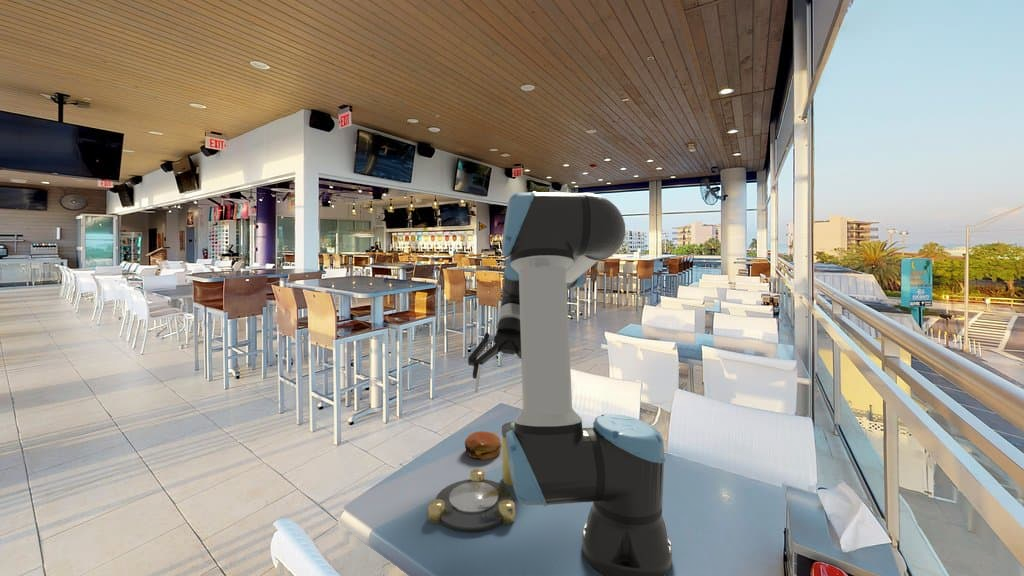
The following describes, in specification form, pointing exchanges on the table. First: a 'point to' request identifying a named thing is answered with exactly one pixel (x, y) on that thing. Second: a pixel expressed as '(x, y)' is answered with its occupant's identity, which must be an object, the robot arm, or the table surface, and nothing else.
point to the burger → (483, 445)
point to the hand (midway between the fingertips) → (503, 393)
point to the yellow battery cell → (506, 454)
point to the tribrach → (473, 504)
